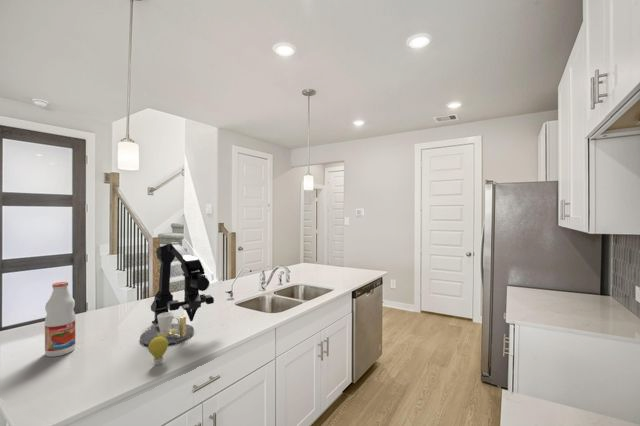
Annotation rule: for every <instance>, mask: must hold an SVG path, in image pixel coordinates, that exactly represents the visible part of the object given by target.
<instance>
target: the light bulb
mask: <svg viewBox="0 0 640 426" xmlns="http://www.w3.org/2000/svg"><path fill="white" fill-rule="evenodd" d="M147 346H148V348H147V349H148V352H149V353H150V355H151V356H152V357H153V363H154V365H155V366H159V365H162V363H163V360H164V355H165V353H166V351H167V350H168V348H169V344H168V341H167V339H166V338H165V337H162V336H159V337H155V338H154V339H152V340H151V342H150V343H149V345H147Z"/></svg>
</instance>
